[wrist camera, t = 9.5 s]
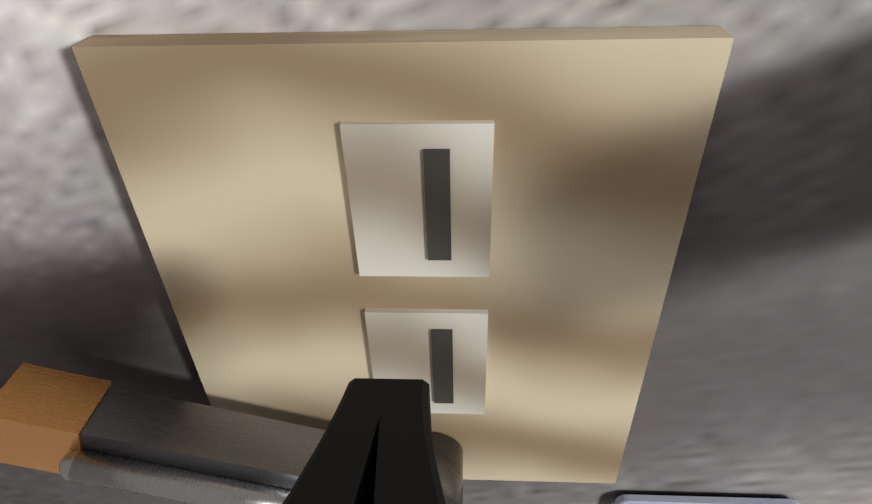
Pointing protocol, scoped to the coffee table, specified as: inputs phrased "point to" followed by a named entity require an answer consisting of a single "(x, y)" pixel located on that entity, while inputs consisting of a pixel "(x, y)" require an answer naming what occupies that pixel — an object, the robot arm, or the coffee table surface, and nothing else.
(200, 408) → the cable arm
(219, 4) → the coffee table surface
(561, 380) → the label board
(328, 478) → the robot arm
